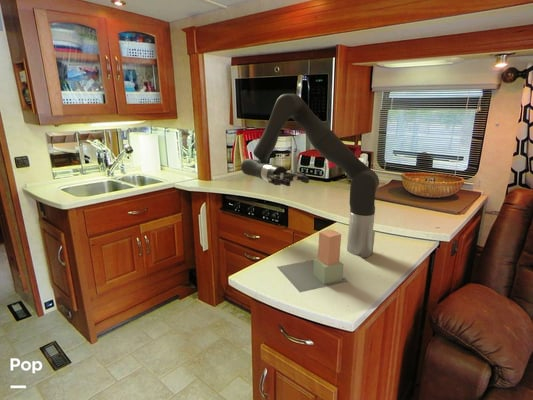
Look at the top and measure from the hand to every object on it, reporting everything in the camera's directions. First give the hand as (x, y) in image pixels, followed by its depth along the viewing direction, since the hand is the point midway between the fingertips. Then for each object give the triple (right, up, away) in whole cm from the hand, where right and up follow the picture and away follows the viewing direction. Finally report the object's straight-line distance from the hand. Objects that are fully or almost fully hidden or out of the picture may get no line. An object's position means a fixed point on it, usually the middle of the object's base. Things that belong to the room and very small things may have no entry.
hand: (299, 181), depth 124 cm
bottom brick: (+9, -33, -9) cm, 35 cm away
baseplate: (+4, -33, -6) cm, 34 cm away
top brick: (+9, -27, -10) cm, 30 cm away
